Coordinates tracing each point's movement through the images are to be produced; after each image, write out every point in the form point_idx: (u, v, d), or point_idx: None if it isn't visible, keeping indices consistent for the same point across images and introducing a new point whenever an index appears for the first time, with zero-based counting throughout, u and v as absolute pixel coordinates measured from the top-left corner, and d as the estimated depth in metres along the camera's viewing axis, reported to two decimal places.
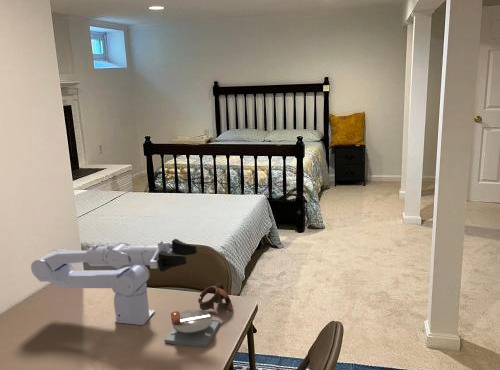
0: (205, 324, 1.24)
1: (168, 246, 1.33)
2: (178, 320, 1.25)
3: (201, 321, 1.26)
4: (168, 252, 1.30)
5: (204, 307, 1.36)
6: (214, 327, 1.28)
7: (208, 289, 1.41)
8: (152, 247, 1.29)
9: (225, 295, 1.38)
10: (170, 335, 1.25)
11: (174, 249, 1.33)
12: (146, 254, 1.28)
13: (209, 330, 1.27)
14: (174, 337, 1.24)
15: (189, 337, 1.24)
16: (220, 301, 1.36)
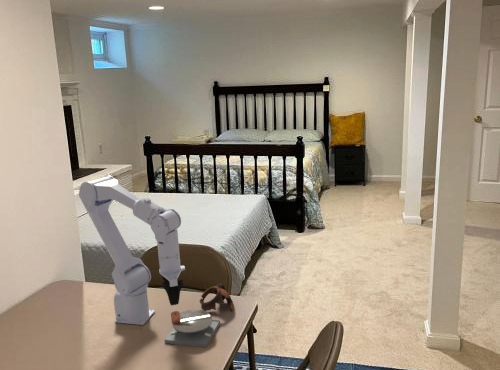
0: (205, 324, 1.24)
1: None
2: (178, 320, 1.25)
3: (201, 321, 1.26)
4: None
5: (206, 307, 1.36)
6: (214, 327, 1.28)
7: (209, 289, 1.40)
8: (179, 262, 1.25)
9: (227, 295, 1.38)
10: (170, 335, 1.25)
11: None
12: (174, 260, 1.23)
13: (209, 330, 1.27)
14: (174, 337, 1.24)
15: (189, 337, 1.24)
16: (222, 301, 1.35)
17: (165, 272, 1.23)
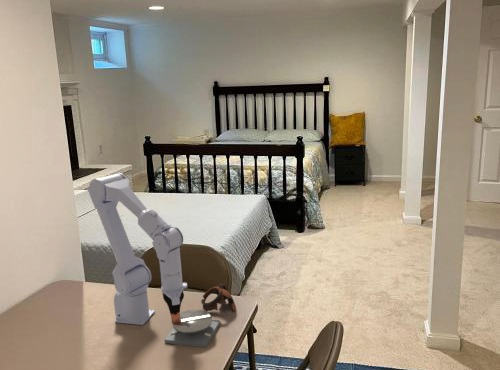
0: (205, 324, 1.24)
1: None
2: (178, 320, 1.25)
3: (201, 321, 1.26)
4: None
5: (207, 308, 1.35)
6: (214, 327, 1.28)
7: (211, 290, 1.40)
8: (181, 280, 1.25)
9: (228, 296, 1.38)
10: (170, 335, 1.25)
11: None
12: (177, 278, 1.22)
13: (209, 330, 1.27)
14: (174, 337, 1.24)
15: (189, 337, 1.24)
16: (223, 302, 1.35)
17: (167, 290, 1.23)
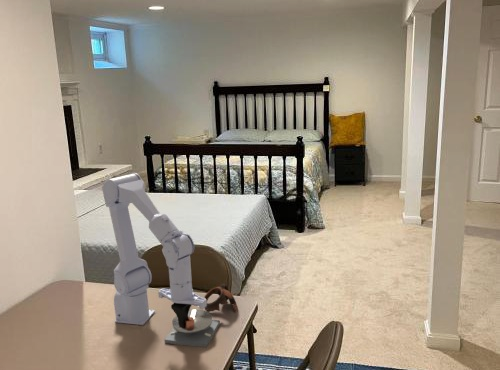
0: (206, 313, 1.30)
1: None
2: None
3: (199, 314, 1.29)
4: None
5: (209, 308, 1.35)
6: (214, 327, 1.28)
7: (213, 290, 1.40)
8: None
9: (230, 296, 1.37)
10: (170, 335, 1.25)
11: None
12: (191, 284, 1.19)
13: (209, 330, 1.27)
14: (174, 337, 1.24)
15: (189, 337, 1.24)
16: (225, 302, 1.35)
17: (185, 298, 1.18)
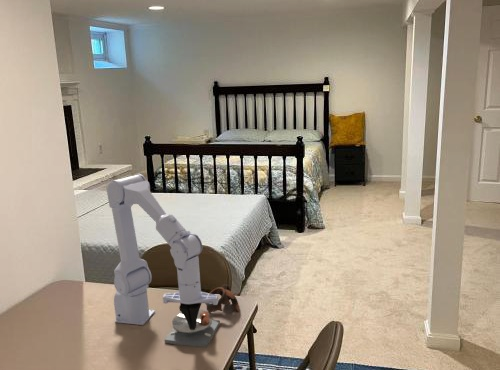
0: None
1: None
2: None
3: None
4: None
5: (212, 309, 1.35)
6: (214, 327, 1.28)
7: (215, 290, 1.40)
8: None
9: (232, 296, 1.37)
10: (170, 335, 1.25)
11: (190, 304, 1.20)
12: None
13: (209, 330, 1.27)
14: (174, 337, 1.24)
15: (189, 337, 1.24)
16: (228, 302, 1.35)
17: (197, 298, 1.18)
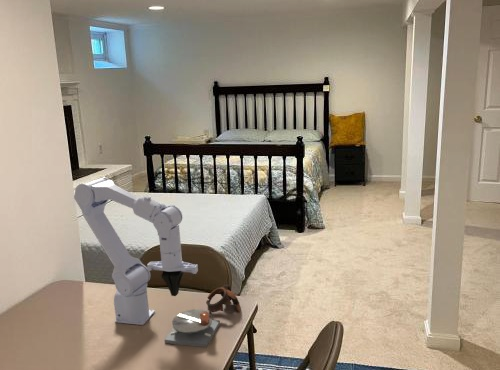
0: (192, 310, 1.31)
1: None
2: None
3: (189, 314, 1.29)
4: None
5: (213, 309, 1.35)
6: (214, 327, 1.28)
7: (216, 291, 1.39)
8: None
9: (233, 296, 1.37)
10: (170, 335, 1.25)
11: (172, 272, 1.28)
12: None
13: (209, 330, 1.27)
14: (174, 337, 1.24)
15: (189, 337, 1.24)
16: (229, 303, 1.34)
17: (178, 266, 1.25)
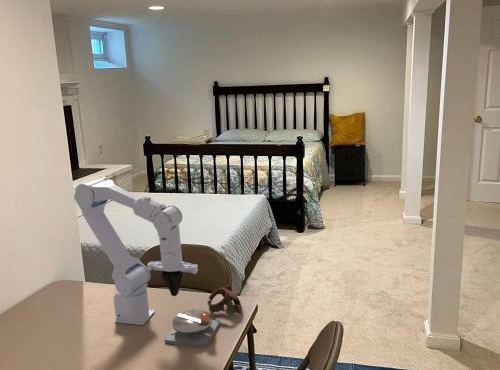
0: (192, 310, 1.31)
1: None
2: None
3: (189, 314, 1.29)
4: None
5: (214, 309, 1.34)
6: (214, 327, 1.28)
7: (217, 291, 1.39)
8: None
9: (235, 297, 1.37)
10: (170, 335, 1.25)
11: (172, 272, 1.28)
12: None
13: (209, 330, 1.27)
14: (174, 337, 1.24)
15: (189, 337, 1.24)
16: (230, 303, 1.34)
17: (178, 266, 1.25)
